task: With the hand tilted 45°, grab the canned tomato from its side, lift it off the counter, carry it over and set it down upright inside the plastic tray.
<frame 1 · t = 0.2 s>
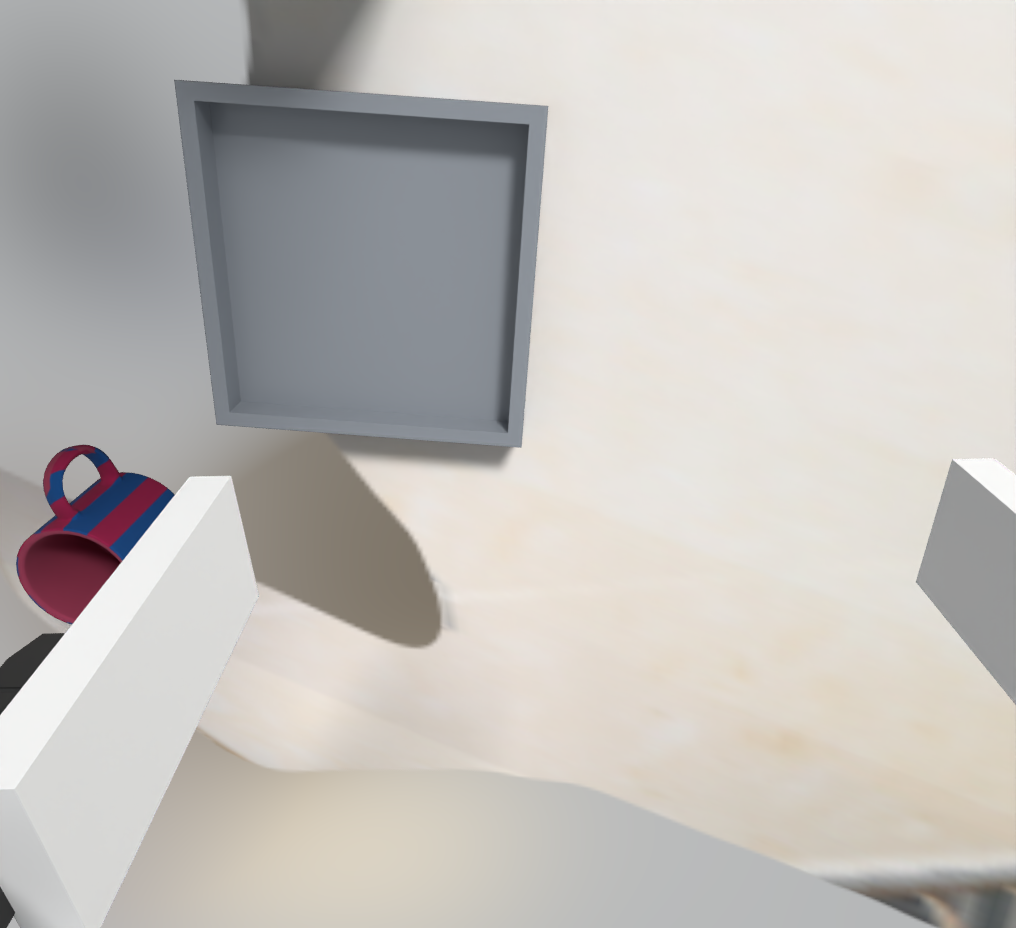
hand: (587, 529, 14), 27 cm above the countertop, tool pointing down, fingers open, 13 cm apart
mug: (135, 494, 46), on the countertop
tray: (375, 272, 39), on the countertop
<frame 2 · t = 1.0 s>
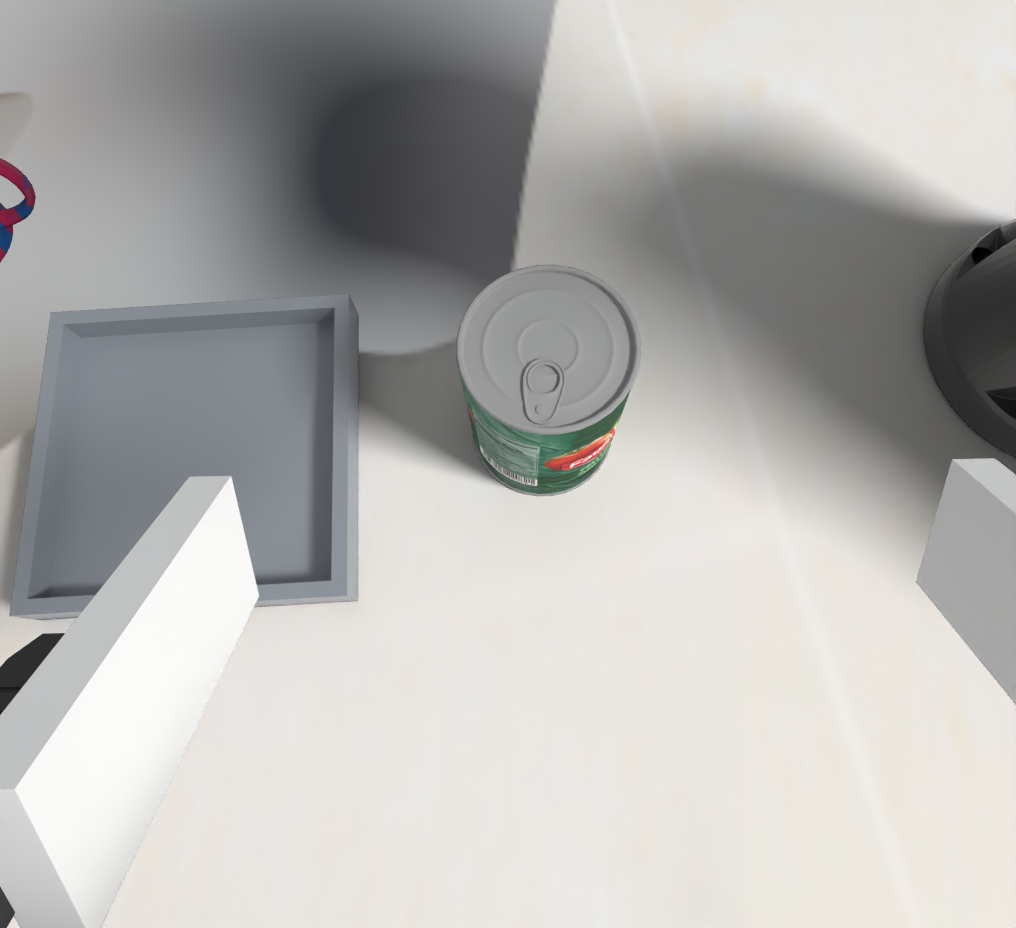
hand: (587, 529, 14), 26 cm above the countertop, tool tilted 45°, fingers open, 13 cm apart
canned tomato: (542, 431, 42), on the countertop
tray: (208, 458, 41), on the countertop
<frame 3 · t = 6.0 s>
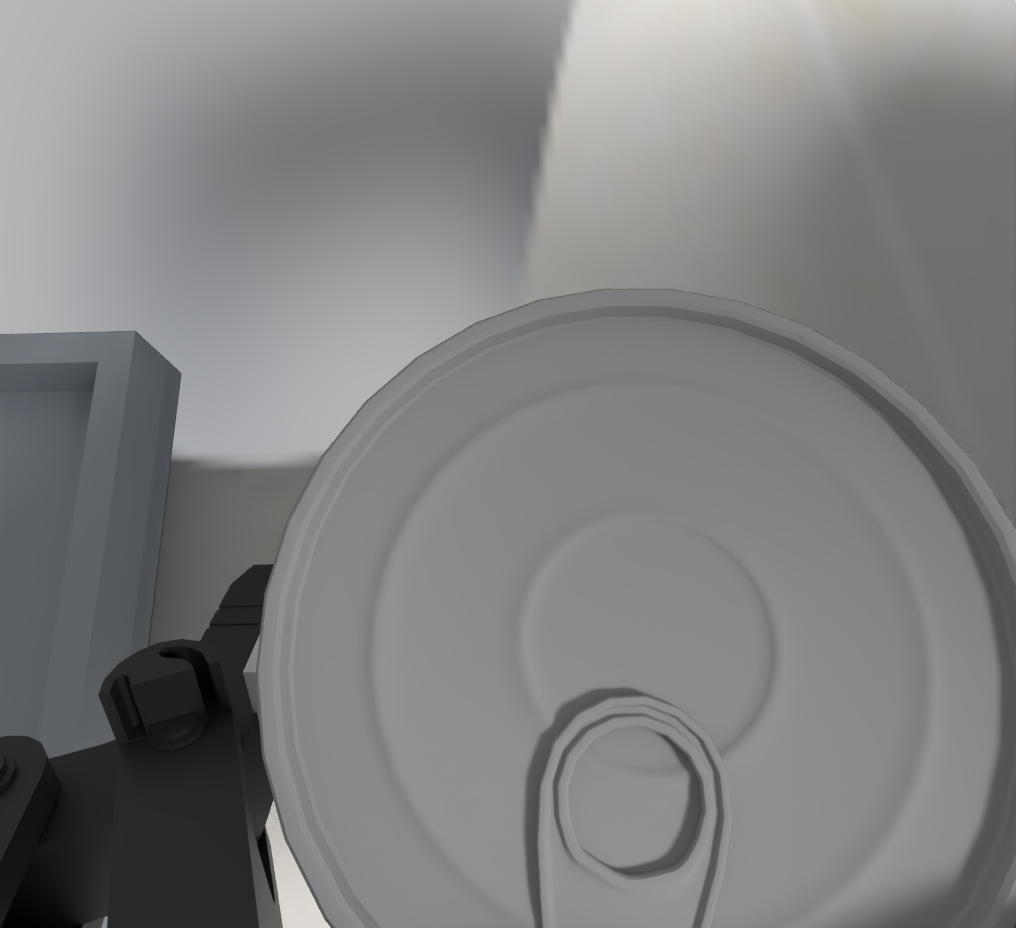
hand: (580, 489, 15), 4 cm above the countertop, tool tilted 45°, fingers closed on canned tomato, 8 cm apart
canned tomato: (573, 665, 18), on the countertop, touching gripper
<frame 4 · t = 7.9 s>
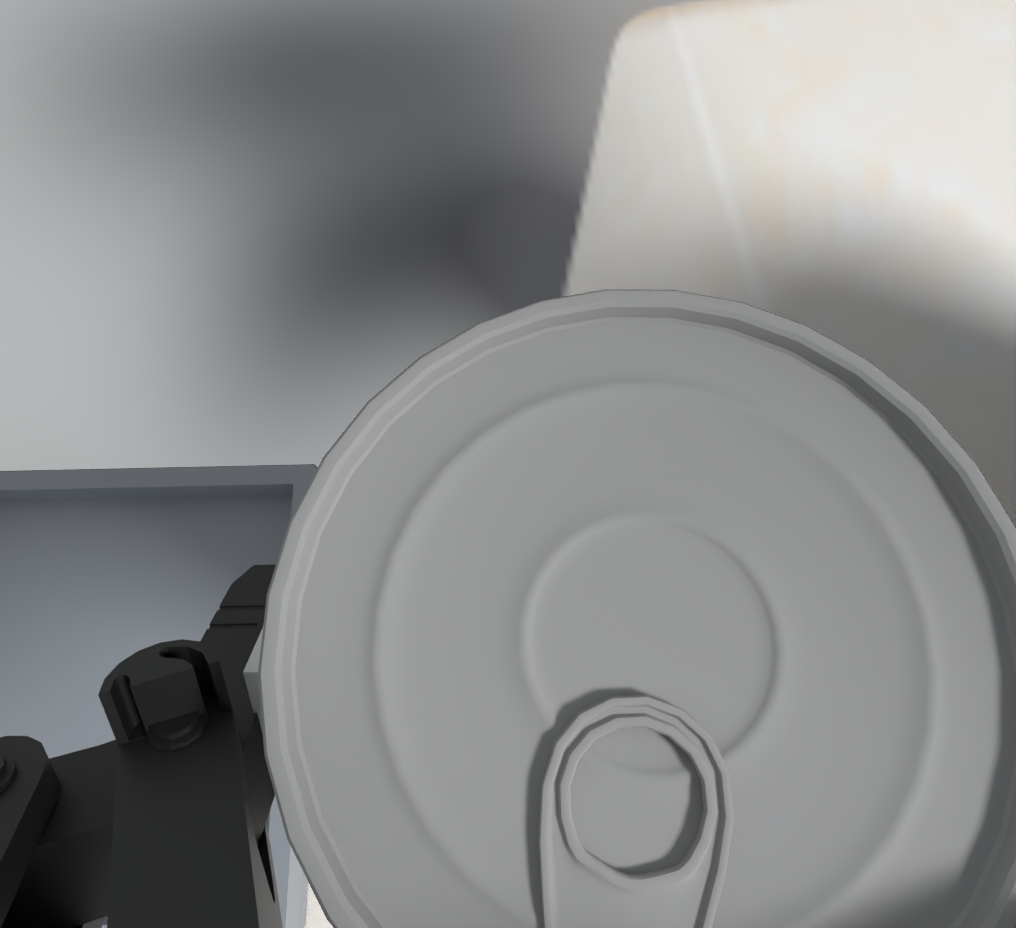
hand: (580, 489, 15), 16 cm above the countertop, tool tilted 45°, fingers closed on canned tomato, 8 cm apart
canned tomato: (574, 665, 18), point 12 cm above the countertop, touching gripper
tray: (108, 688, 29), on the countertop
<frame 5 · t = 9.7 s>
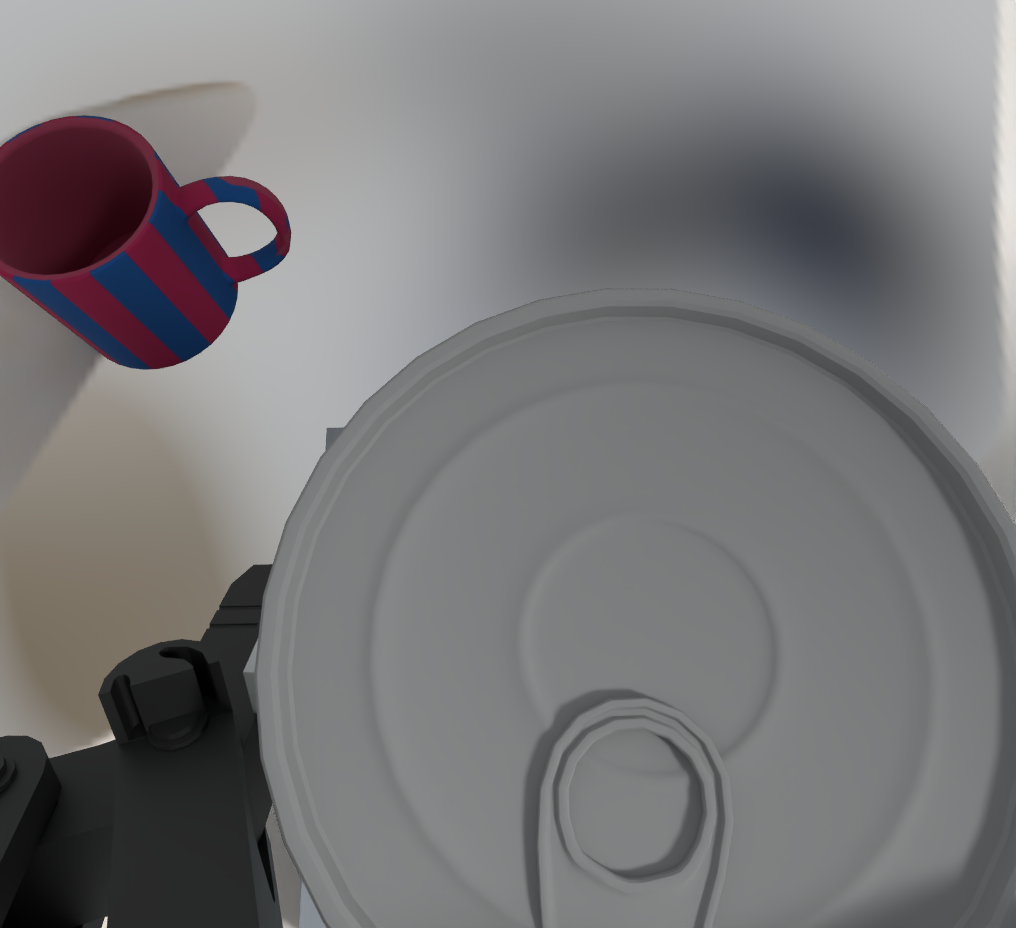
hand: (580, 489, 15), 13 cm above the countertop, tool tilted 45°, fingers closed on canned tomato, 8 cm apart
mug: (201, 299, 31), on the countertop
canned tomato: (573, 666, 18), point 9 cm above the countertop, touching gripper
tray: (567, 667, 26), on the countertop
when the fingers open (6 cm above the countertop, at t = 11.3 s): canned tomato stays where it is, resting on tray.
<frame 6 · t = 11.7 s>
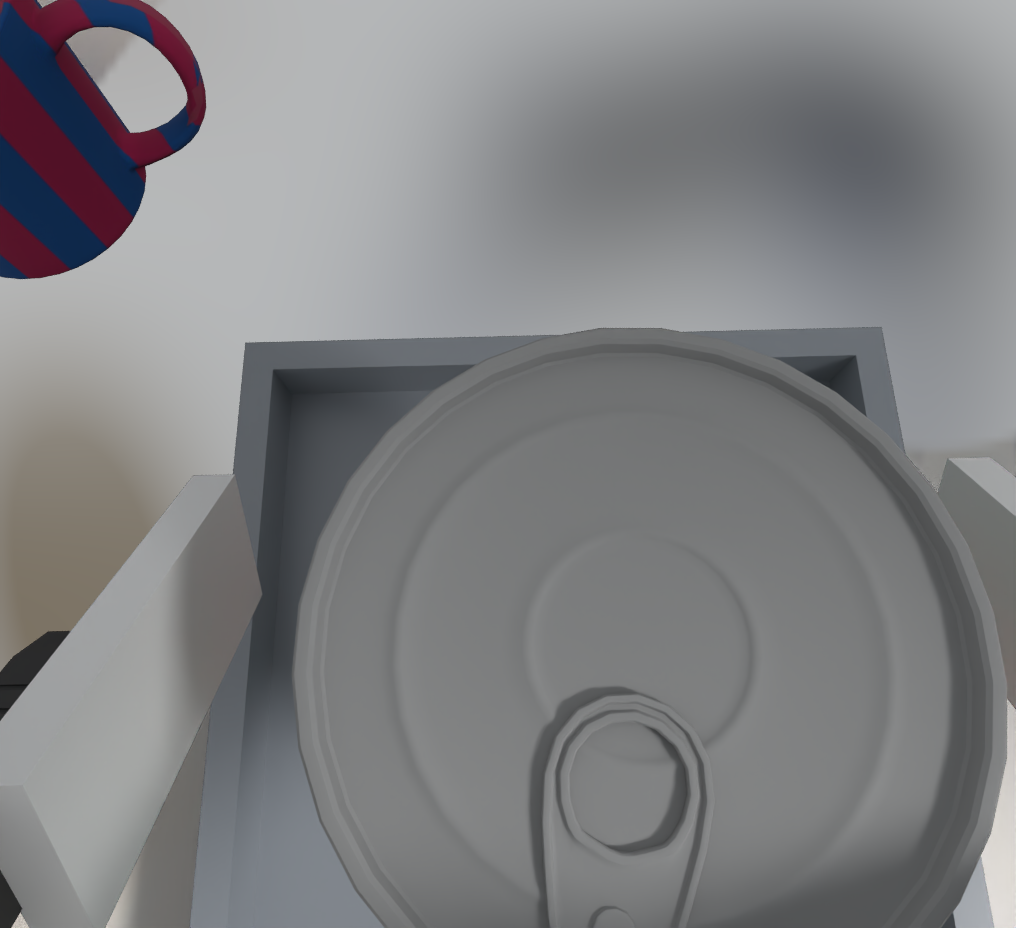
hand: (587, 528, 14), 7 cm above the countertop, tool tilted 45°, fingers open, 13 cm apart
mug: (99, 194, 24), on the countertop
canned tomato: (575, 669, 19), point 1 cm above the countertop, touching tray
tray: (569, 667, 19), on the countertop
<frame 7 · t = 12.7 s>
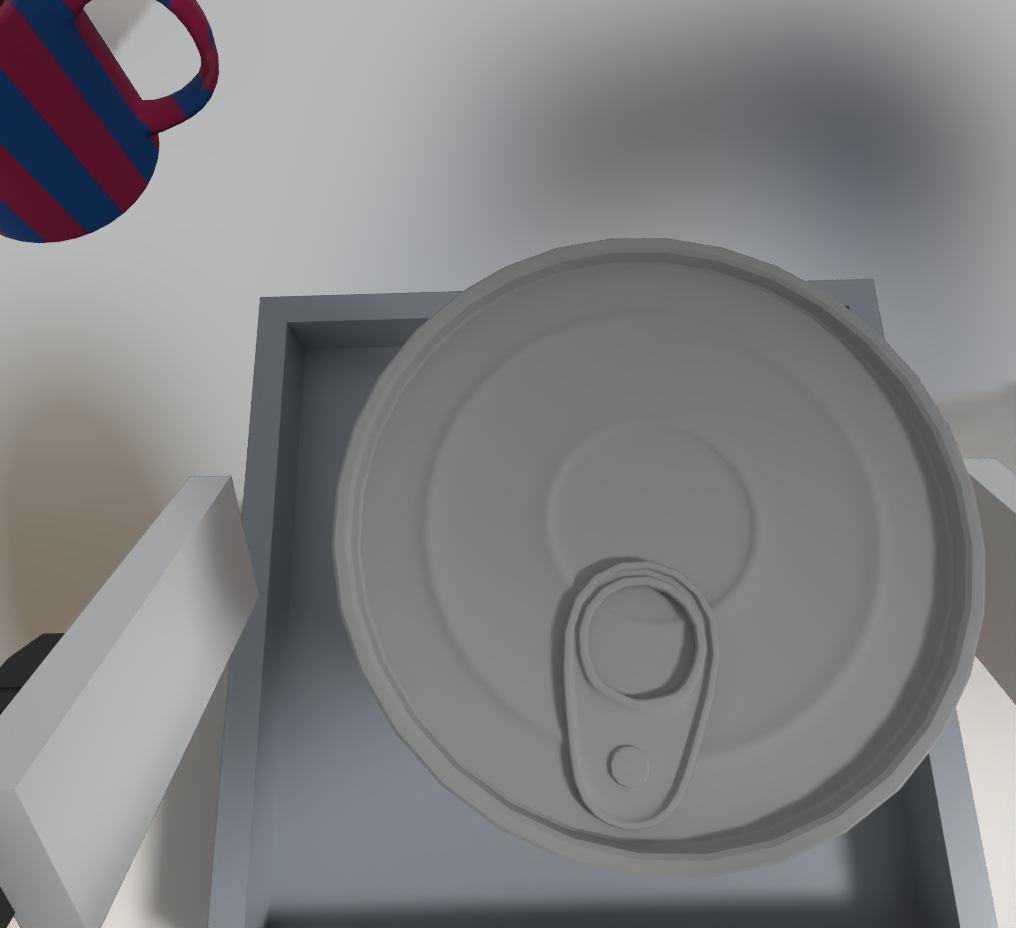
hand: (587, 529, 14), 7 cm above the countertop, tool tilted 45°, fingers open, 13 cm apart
mug: (114, 162, 25), on the countertop
canned tomato: (580, 608, 19), point 1 cm above the countertop, touching tray
tray: (574, 607, 20), on the countertop
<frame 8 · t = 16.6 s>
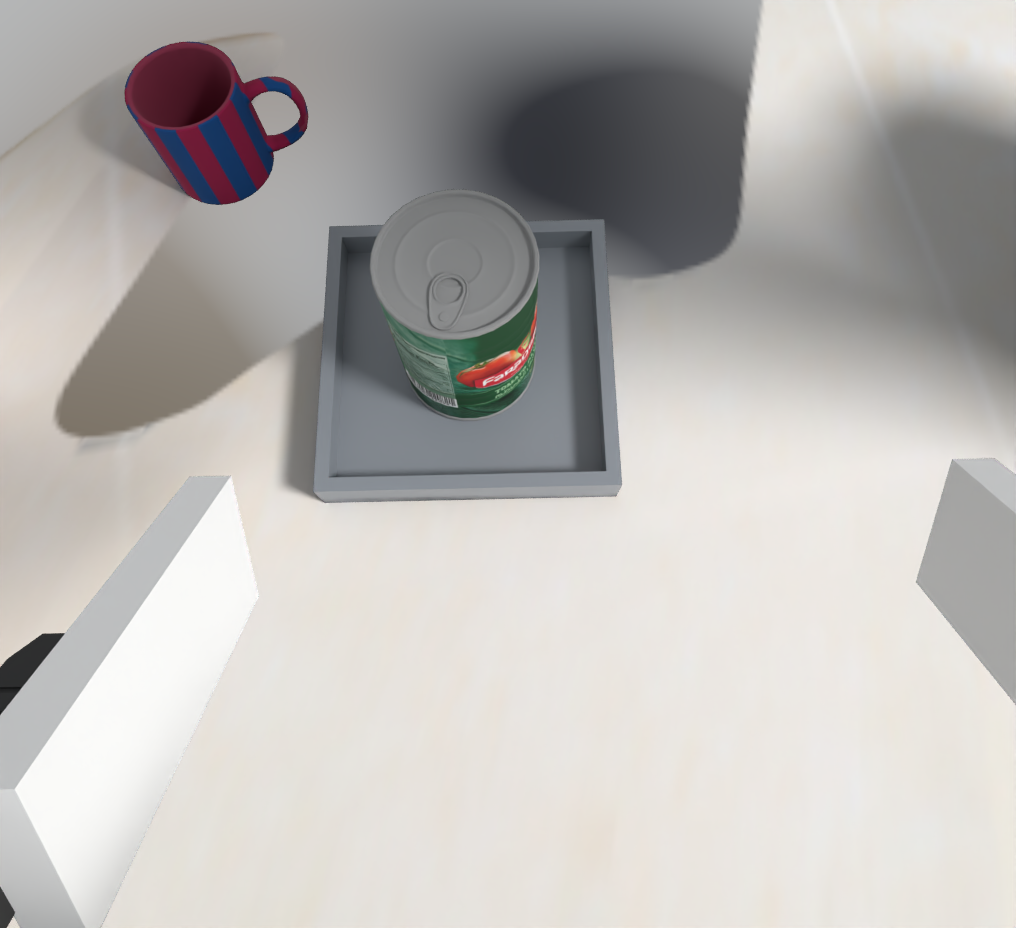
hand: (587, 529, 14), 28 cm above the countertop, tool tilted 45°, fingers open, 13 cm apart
mug: (250, 165, 50), on the countertop
canned tomato: (470, 362, 44), point 1 cm above the countertop, touching tray
tray: (469, 365, 45), on the countertop
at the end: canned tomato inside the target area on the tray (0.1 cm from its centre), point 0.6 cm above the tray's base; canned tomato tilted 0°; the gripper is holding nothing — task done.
